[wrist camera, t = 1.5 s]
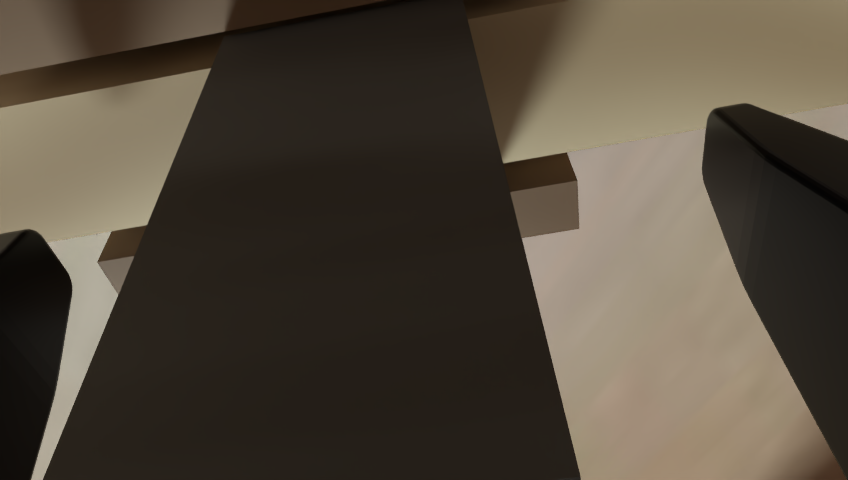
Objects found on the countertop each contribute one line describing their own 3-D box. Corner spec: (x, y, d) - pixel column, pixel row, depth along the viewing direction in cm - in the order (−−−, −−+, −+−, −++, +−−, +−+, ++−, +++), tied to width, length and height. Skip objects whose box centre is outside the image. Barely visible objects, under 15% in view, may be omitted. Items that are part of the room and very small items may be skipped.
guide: (557, 167, 13) (579, 228, 12) (149, 237, 14) (124, 303, 12) (538, -153, 10) (566, -121, 8) (-8, -40, 10) (-69, 7, 9)
